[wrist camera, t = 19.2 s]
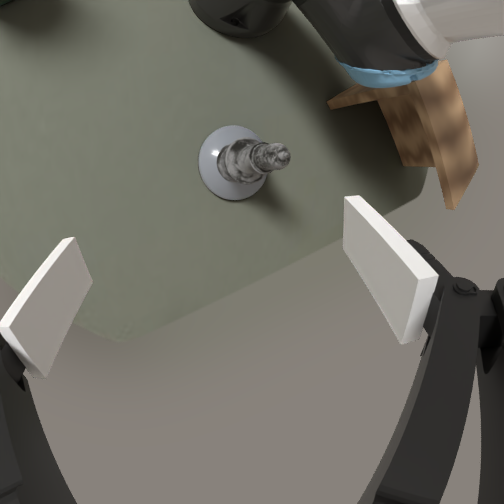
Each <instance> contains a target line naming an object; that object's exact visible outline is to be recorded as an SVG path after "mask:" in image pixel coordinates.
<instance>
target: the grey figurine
mask: <svg viewBox="0 0 504 504" xmlns="http://www.w3.org/2000/svg"><path fill="white" fill-rule="evenodd" d="M289 162H290V152H289V150H288V148H287V147H286V146H285V145H283V144H280V143H272V144H268V143H265V142H261V143H260V142H259V141H258V140H256V139H254V138H250V137H242V138H239V139H237V140H235V141H234V142H232V143H231V144H228V145H226V146H224V147H223V148H222V149H221V150H220V152H219V154H218V156H217V168H218V171H219V173H220V174H221V176H222V177H223V178H224V179H225V180H227V181H229V182H234V183H236V182H239V183H241V184H246V185H249V184H254V183H257V182H258V181H260V180H261V179H262V178H263V177H264V176H265V174H268V173H271V172H272V171H273V170H280V169H283V168H285V167H286V166H287V165H288V164H289Z"/></svg>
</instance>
